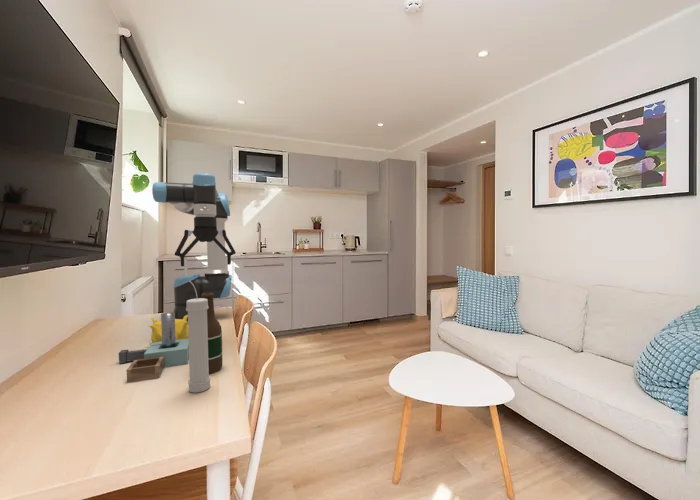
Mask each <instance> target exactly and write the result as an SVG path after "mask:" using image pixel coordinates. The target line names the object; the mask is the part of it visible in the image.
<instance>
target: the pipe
mask: <svg viewBox="0 0 700 500" xmlns="http://www.w3.org/2000/svg"><path fill="white" fill-rule="evenodd" d="M189 282H191V281H189ZM191 284H192V285H193V283H192V282H191ZM193 286H194V285H193ZM194 289H195V287H194ZM195 292H196V289H195ZM196 297H197V292H196ZM186 305H187V308H186V311H188V334H189V360H188V365H189V379H188V381H187V382H188V383H187V384H188V391H189V392H191V393H202V392H204V391H207V390H208V389H210V387H211V376H210V374H209V366H208V329H207V309H209V306H208V300H207V299H205V298H197V299H190V300H188V301H187V302H186Z"/></svg>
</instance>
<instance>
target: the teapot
mask: <svg viewBox="0 0 700 500" xmlns="http://www.w3.org/2000/svg"><path fill="white" fill-rule="evenodd" d="M187 317H188V315H186V316H184V318H183V319H175V336H176V340H179V339H188V338H189V334H188V322H187V321H186V320H187ZM150 320H151V321H152V322H153V324H152V325H148V326H147V327H148V328H150V329H151V335H150V339H151V343H152V342H161V341H162V329H161V320H159V321H158V319H156V318H154V317H153V318H152V317H151V318H150Z"/></svg>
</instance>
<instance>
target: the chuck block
mask: <svg viewBox="0 0 700 500" xmlns="http://www.w3.org/2000/svg"><path fill="white" fill-rule="evenodd" d="M146 349H147V351H146V352H145V353H144V359H148V358H155V357H163V356H164V368H166V367H167V368H168V367H173V366H174V367H175V366H180V365H188V364H189V338H188V339H179V340H176V347H173V348H164V349H162V341H161V342H152V341H151V344H150V345H149V346H148V348H146Z"/></svg>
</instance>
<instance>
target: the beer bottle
mask: <svg viewBox="0 0 700 500" xmlns="http://www.w3.org/2000/svg"><path fill="white" fill-rule="evenodd" d="M213 296H214V294H213V293H210V292H209V293H203V294H201V298H205V299H207V300H208V306H209V309H207V329H208V366H209V375H212V374H215V373H217V372H219V371H221V369H222V367H223V332H222V325H221V323H220V322H219V320H218V319H217V317H216V314H215V304H214V298H213Z"/></svg>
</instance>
